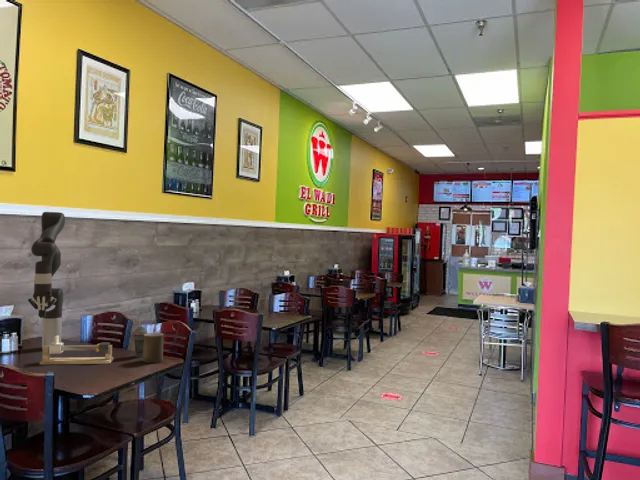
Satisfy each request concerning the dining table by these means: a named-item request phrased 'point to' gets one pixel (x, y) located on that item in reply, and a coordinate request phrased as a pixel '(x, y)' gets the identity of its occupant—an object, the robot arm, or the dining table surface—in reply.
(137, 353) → the beverage cup
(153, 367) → the dining table surface
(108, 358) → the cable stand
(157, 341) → the pillar candle
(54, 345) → the white slider block
